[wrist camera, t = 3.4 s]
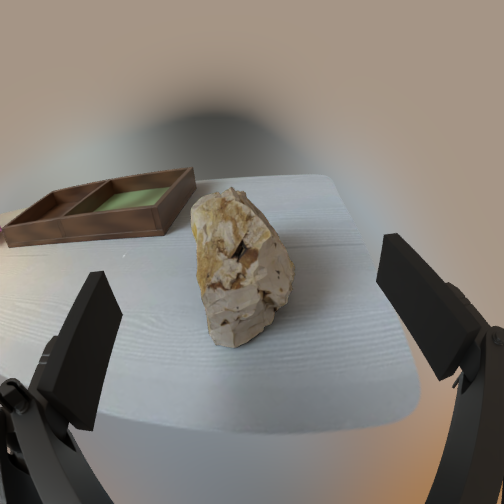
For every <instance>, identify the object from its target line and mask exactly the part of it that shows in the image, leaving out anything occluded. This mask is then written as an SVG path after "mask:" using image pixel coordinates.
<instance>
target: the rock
mask: <svg viewBox="0 0 504 504" xmlns="http://www.w3.org/2000/svg"><path fill="white" fill-rule="evenodd" d="M191 228H192V232H193V235H194V238H195V240H196V243H197V274H196V277H197V281H198V284H199V286H200V289H201V298H202V301H203V304H204V307H205V311H206V315H207V323H208V330H209V334H210V336H211V337H212V339H213V341H214V343H215V345H222V346H225V347H231V348H236V347H238V346H239V345H241V344H243V343H247V342H248V341H249V340H250V339H252V338H253V337H255V336H256V335H257V334H259V333H260V332H263V329H264V327H265V326H266V325H270V324H271V323H272V322H273V319H274V314H275V311H276V312H277V311H278V310H279V308H280V307H282V306H284V305H286V304H287V303H288V296H289V294H290V292H291V291H292V290H293V288H292V282H293V280H294V276H295V273H294V270H295V266H294V264H293V263H292V261H290V259H289V256H288V253H287V250H286V248H285V247H284V245H283V244H282V242H281V241H280V239H279V236H278V234H277V233H276V231H275V230H274V228H273V227H272V226H271V225H270V223H269V222H268V220H267V219H266V217H265V216H264V214H263V213H262V212H261V211H260V210H259V209H258V208H257V207H255V206H254V205H253V204H252V203H251V202H250V200H248V199H247V197H246V193H245V192H244V191H241V192H239V191H235V190H234V188H232V187H230V188H229V189H228V190H225V191H224V192H223V193H222V194H220V193H219V192H215V193H212V194H209V195H205V196H203V197H201V198H200V199H199V200H198V201H197V202H196V203H195V204H194V205H193V207H192V208H191Z"/></svg>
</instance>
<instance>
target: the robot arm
mask: <svg viewBox="0 0 504 504" xmlns="http://www.w3.org/2000/svg"><path fill="white" fill-rule="evenodd" d="M376 282H377V284H378V285H379V286H380V288H381V289H382V291H383V292H384V294H385V295H386V297H387V298H388V300H389V301H390V303H391V304H392V306H393V307H394V309H395V310H396V312H397V313H398V315H399V316H400V318H401V319H402V321H403V322H404V324H405V325H406V327H407V329H408V330H409V332H410V333H411V335H412V336H413V338H414V340H415V341H416V343H417V344H418V346H419V348H420V349H421V351H422V353H423V354H424V356H425V358H426V359H427V361H428V363H429V365H430V366H431V368H432V369H433V371H434V373H435V375H436V377H437V378H438V380H439V381H441V380H443V379H445V378H447V377H450V376H452V375H453V374H454V373H455V371H456V370H457V368H458V367H459V366H460V368H461V369H462V372H461V374H460V375H459V377H458V378H457V380H456V381H455V382H454V384H453V386H452V388H455V387H456V385H457V384H458V383H459V384H458V388H457V389H458V390H457V397H456V401H455V406H454V411H453V416H452V421H451V425H450V429H449V433H448V437H447V441H446V444H445V448H444V451H443V455H442V458H441V461H440V464H439V467H438V471H437V474H436V476H435V479H434V482H433V485H432V487H431V490H430V493H429V495H428V497H427V500H426V502H425V504H496V503H497V500H498V496H499V493H500V489H501V485H502V481H503V488H502V501H501V504H504V329H503V328H501V327H498V326H493V327H491V326H490V325H489V324H488V323H487V322H486V320H485V319H484V318H483V317H482V315H481V314H480V313H479V312H478V311H477V309H476V308H475V307H474V306H473V305H472V304H471V303H470V301H469V300H468V299H467V298H465V295H464V294H463V293H462V292H461V291H460V290H459V289H458V288H457V287H455V286H454V285H452V284H451V283H449V282H448V283H445V282H444V281H443V280H442V279H441V278H440V277H439V276H438V275H437V273H436V272H435V271H434V270H433V269H432V268H431V267H430V266H429V265H428V264H427V263H426V262H425V261H424V260H423V259H422V258H421V257H420V255H419V254H418V253H417V252H416V251H415V250H414V249H413V248H412V247H411V246H410V245H409V244H408V243H407V242H406V241H405V240H404V239H402V237H400V235H398V234H397V233H394V234H386V235H384V238H383V245H382V251H381V257H380V263H379V268H378V273H377V279H376ZM122 316H123V314H122V312H121V310H120V308H119V306H118V303H117V301H116V299H115V297H114V294H113V292H112V290H111V287H110V285H109V283H108V280H107V278H106V275H105V273H104V271H98V272H90V274H89V275H88V277H87V279H86V281H85V283H84V285H83V286H82V288H81V290H80V292H79V294H78V296H77V298H76V300H75V302H74V304H73V306H72V308H71V310H70V312H69V314H68V316H67V318H66V320H65V322H64V324H63V326H62V328H61V330H60V333H59V335H58V336H53V338H52V339H51V340H50V341H49V342H48V343H47V345H46V347H45V349H44V351H43V354H42V356H41V358H40V360H39V364H38V365H37V368H36V370H35V373H34V375H33V378H32V380H31V383H30V385H29V388H28V390H27V389H26V388H25V387H24V386H23V385H22V383H21V382H20V381H19V380H17V379H16V378H10V379H8V380H6V381H5V382H3V383H2V384H1V386H0V404H1V405H2V406H3V407H0V504H114V503H113V501H112V500H111V499H110V497H109V496H108V494H107V493H106V491H105V490H104V489H103V487H102V485H101V484H100V482H99V481H98V479H97V478H96V476H95V474H94V473H93V471H92V469H91V468H90V466H89V464H88V463H87V461H86V459H85V458H84V456H83V454H82V452H81V450H80V448H79V447H78V445H77V443H76V441H75V439H74V437H73V435H72V433H71V432H70V430H69V429H68V425H69V422H70V423H71V424H72V425H73V426H74V427H75V428H76V429H79V430H86V431H93V428H94V423H95V418H96V413H97V409H98V404H99V400H100V395H101V391H102V387H103V383H104V379H105V375H106V371H107V367H108V363H109V360H110V356H111V352H112V349H113V345H114V342H115V339H116V335H117V332H118V329H119V325H120V322H121V319H122ZM7 447H9V448H10V450H11V452H10V454H9V453H7Z"/></svg>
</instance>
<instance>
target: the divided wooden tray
mask: <svg viewBox="0 0 504 504" xmlns="http://www.w3.org/2000/svg"><path fill="white" fill-rule="evenodd" d="M195 190H196V182H195V176H194V170H193V167H189V168H180V169H172V170H165V171H158V172H151V173H144V174H137V175H131V176H125V177H120V178H114V179H108V180H103V181H98V182H92V183H87V184H83V185H78V186H73V187H69V188H64V189H60V190H55V191H52V192H51V193H49V194H48V195H46V196H45V197H43V198H42V199H40V200H39V201H37V202H36V203H35V204H33V205H32V206H31V207H29V208H28V209H26V210H25V211H24V212H22V213H21V214H20V215H18V216H17V217H16V218H14V219H13V220H12V221H10V222H9V223H8V224H7V225H5V226H4V227H3V228H2V229H1V230H2V232H3V235H4V237H5V240H6V242H7V244H8V247H9V248H10V247H21V246H32V245H43V244H55V243H67V242H79V241H92V240H105V239H119V238H134V237H149V236H164V235H165V233H166V232H167V230H168V229H169V227H170V226H171V224H172V223H173V221H174V220H175V218H176V217H177V215H178V214H179V213H180V211H181V210H182V208H183V207H184V205H185V204H186V202H187V201H188V199H189V198H190V197H191V195H192V194H193V192H194V191H195Z"/></svg>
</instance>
